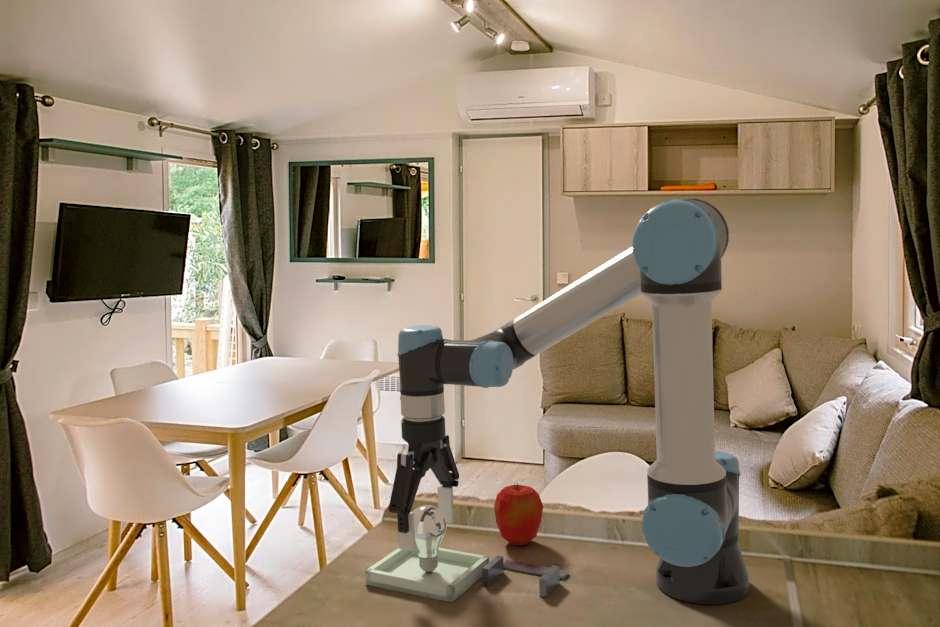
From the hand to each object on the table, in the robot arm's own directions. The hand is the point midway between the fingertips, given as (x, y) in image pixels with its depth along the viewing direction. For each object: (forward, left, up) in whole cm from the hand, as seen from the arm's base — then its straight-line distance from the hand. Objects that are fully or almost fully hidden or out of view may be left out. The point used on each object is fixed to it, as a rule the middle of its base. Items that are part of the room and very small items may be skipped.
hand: (427, 535), depth 154 cm
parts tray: (0, 0, -8) cm, 8 cm away
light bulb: (0, 0, -7) cm, 7 cm away
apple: (-8, -20, -8) cm, 23 cm away
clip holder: (-16, -6, -8) cm, 19 cm away
